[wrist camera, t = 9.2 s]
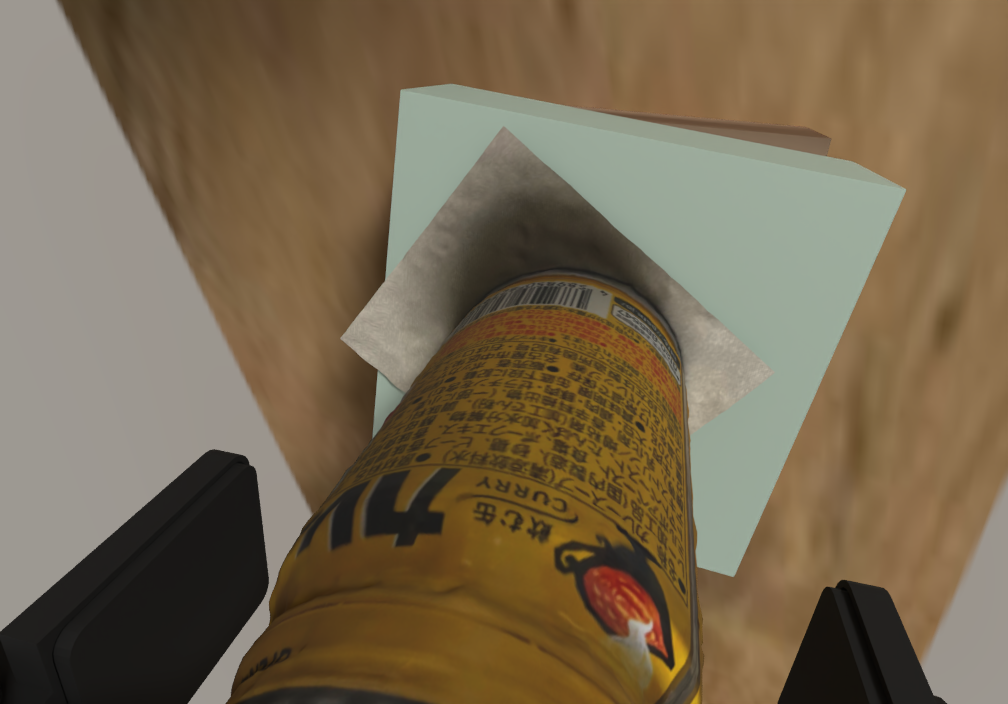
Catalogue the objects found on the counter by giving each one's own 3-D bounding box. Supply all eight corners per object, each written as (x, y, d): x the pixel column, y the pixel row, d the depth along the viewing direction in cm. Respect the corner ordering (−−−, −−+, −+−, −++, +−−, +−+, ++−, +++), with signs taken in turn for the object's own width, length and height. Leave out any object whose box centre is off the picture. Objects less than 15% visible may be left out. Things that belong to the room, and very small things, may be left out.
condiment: (570, 524, 18) (445, 1160, 8) (343, 335, 17) (-152, 771, 7) (774, 367, 15) (1034, 1108, 4) (507, 123, 14) (35, 334, 4)
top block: (452, 83, 18) (400, 89, 14) (853, 161, 16) (906, 189, 13) (414, 410, 23) (369, 474, 19) (721, 491, 21) (733, 576, 18)
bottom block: (464, 94, 22) (427, 101, 18) (800, 124, 20) (831, 138, 16) (454, 376, 27) (422, 425, 23) (724, 421, 25) (735, 482, 21)
